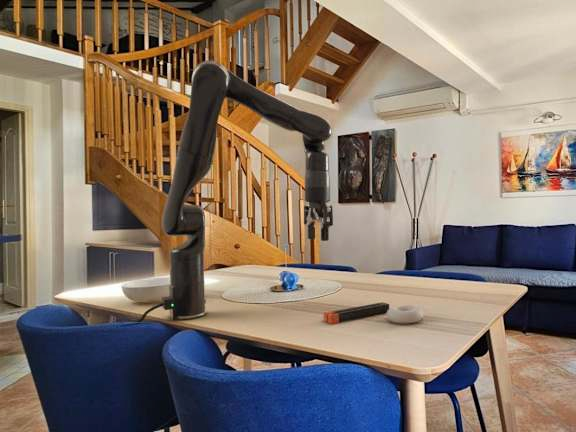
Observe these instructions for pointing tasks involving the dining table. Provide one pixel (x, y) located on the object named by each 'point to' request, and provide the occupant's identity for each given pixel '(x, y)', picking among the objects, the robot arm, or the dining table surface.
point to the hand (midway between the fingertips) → (317, 239)
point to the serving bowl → (147, 289)
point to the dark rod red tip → (355, 312)
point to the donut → (404, 314)
